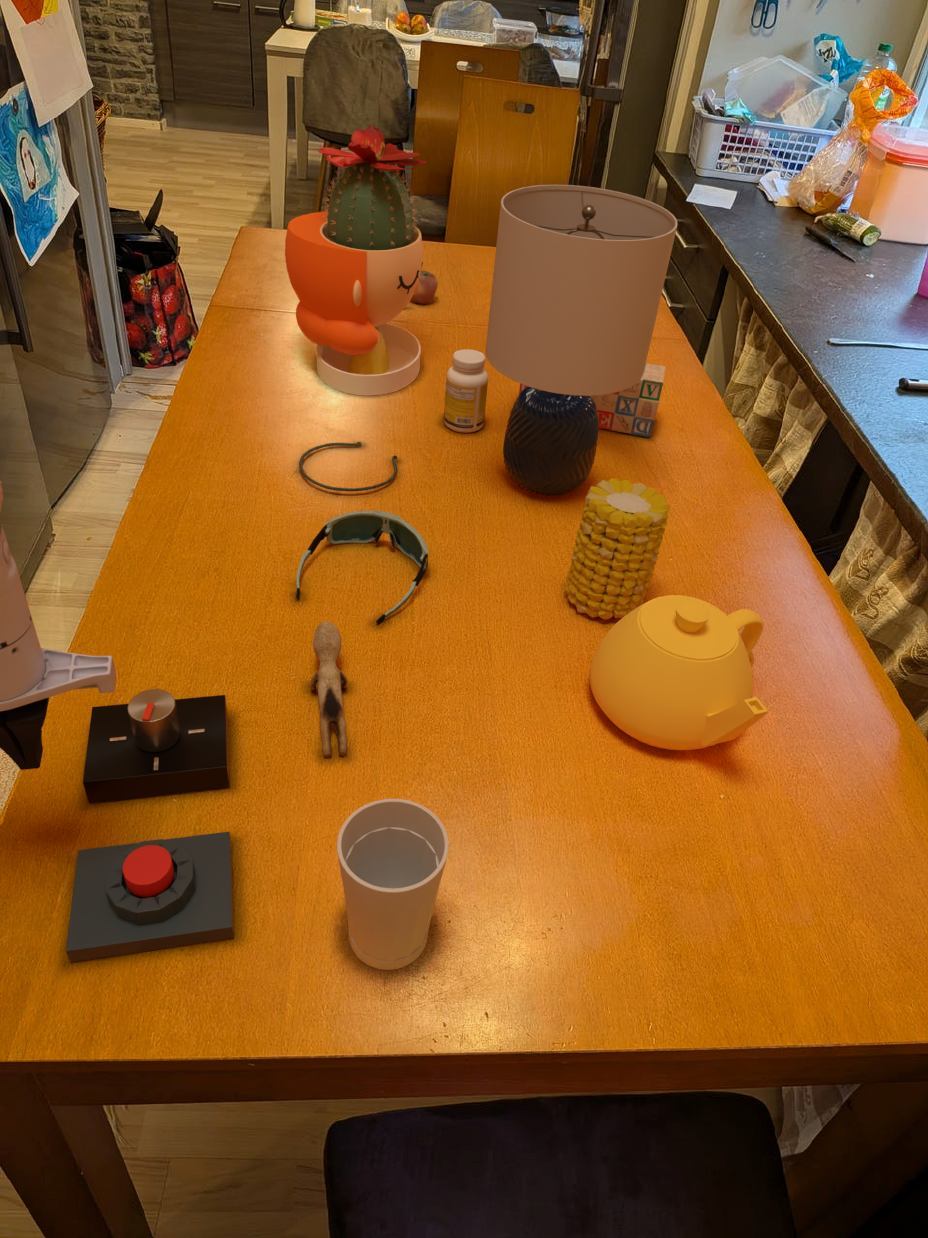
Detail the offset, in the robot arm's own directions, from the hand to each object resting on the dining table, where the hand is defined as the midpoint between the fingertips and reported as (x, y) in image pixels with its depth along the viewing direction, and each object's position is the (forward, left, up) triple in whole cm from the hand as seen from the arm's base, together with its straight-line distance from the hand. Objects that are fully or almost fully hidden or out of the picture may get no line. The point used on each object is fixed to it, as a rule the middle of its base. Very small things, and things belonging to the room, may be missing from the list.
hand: (31, 759), depth 69 cm
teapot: (+60, +7, -11) cm, 61 cm away
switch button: (+8, -7, -7) cm, 13 cm away
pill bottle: (+50, +69, -11) cm, 86 cm away
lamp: (+58, +52, -11) cm, 79 cm away
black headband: (+31, +57, -10) cm, 66 cm away
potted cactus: (+36, +90, -11) cm, 98 cm away
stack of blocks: (+70, +70, -11) cm, 100 cm away
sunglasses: (+30, +33, -11) cm, 46 cm away
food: (+58, +26, -11) cm, 64 cm away
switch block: (+8, -7, -10) cm, 15 cm away
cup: (+26, -13, -11) cm, 31 cm away
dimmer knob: (+8, +8, -7) cm, 13 cm away
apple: (+52, +117, -11) cm, 128 cm away
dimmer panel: (+8, +8, -10) cm, 15 cm away
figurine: (+24, +13, -11) cm, 29 cm away
